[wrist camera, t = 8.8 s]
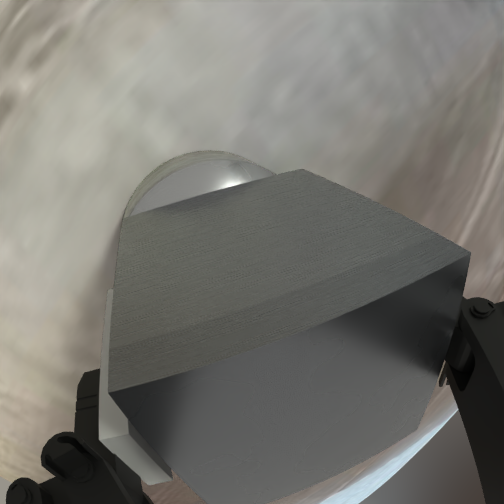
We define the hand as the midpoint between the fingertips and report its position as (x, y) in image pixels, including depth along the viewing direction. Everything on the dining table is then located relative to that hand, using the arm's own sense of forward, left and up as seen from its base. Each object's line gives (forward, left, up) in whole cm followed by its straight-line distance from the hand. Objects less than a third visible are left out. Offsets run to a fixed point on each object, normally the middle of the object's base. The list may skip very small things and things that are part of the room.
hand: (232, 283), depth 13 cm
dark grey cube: (0, 0, -1) cm, 1 cm away
